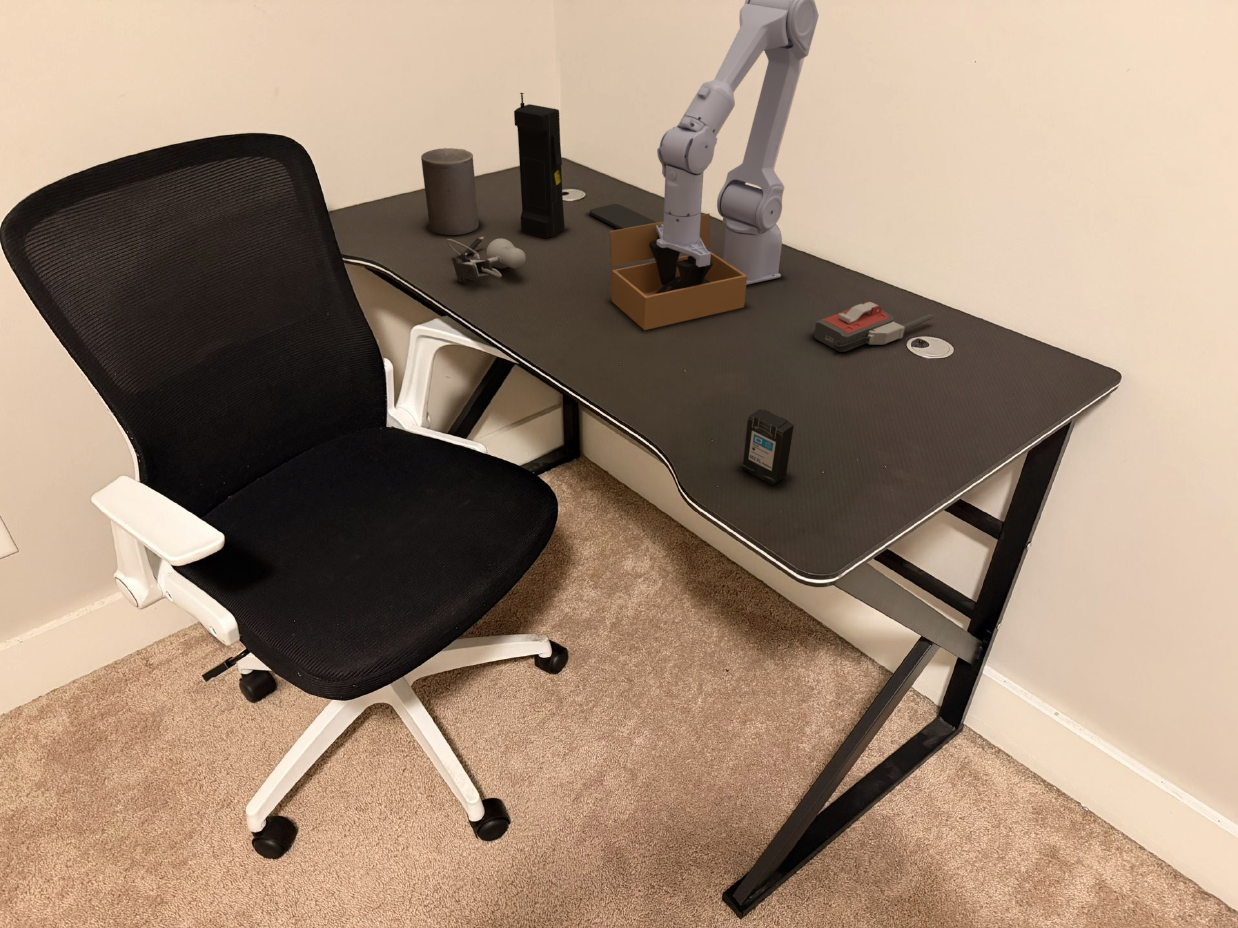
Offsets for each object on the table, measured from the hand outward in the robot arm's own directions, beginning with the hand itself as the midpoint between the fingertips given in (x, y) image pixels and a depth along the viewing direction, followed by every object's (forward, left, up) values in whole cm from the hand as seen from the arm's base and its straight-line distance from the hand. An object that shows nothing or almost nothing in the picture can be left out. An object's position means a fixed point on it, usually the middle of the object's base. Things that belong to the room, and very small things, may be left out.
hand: (678, 292), depth 141 cm
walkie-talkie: (-22, +22, -2) cm, 31 cm away
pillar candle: (+22, -49, -2) cm, 54 cm away
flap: (0, -6, +7) cm, 9 cm away
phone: (-9, -37, -2) cm, 38 cm away
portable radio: (+7, -39, -2) cm, 40 cm away
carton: (0, 0, -2) cm, 2 cm away
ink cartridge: (+14, +45, -2) cm, 47 cm away
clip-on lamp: (+24, -27, -2) cm, 36 cm away
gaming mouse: (0, 0, -2) cm, 2 cm away
